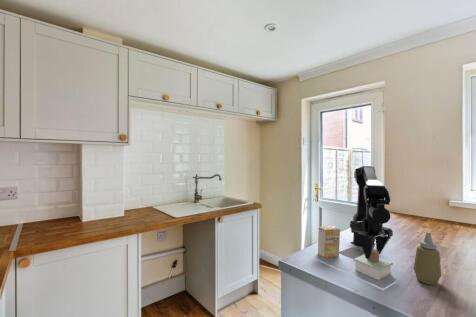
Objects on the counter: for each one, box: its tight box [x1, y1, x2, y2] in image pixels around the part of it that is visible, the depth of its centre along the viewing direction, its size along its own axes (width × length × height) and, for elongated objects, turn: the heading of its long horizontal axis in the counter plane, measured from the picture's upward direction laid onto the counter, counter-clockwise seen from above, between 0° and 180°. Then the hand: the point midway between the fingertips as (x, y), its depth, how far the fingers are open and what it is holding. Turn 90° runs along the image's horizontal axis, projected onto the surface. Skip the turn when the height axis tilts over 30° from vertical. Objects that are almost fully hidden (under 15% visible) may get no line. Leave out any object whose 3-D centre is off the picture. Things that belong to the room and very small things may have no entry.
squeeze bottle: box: [413, 231, 442, 286], centre depth 88 cm, size 8×8×18 cm
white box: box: [354, 262, 392, 281], centre depth 94 cm, size 9×9×4 cm
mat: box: [339, 246, 381, 260], centre depth 110 cm, size 13×13×1 cm
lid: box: [353, 248, 394, 271], centre depth 94 cm, size 10×10×5 cm
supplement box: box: [317, 225, 341, 259], centre depth 109 cm, size 8×5×13 cm, turn 105°
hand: (373, 256), depth 93 cm, fingers open, 8 cm apart
